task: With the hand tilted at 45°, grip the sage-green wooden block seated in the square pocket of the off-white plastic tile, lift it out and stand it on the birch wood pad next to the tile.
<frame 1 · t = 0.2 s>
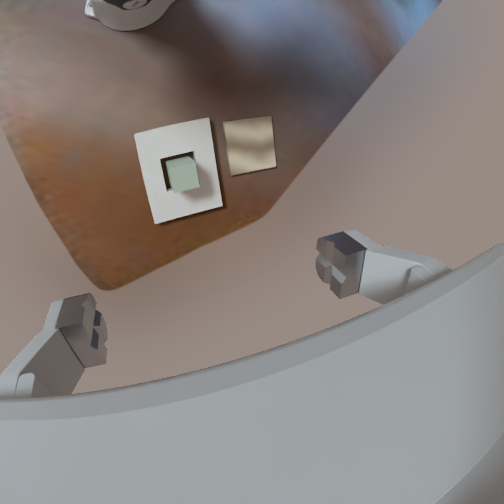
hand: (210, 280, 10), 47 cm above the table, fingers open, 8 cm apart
block: (178, 169, 53), resting in holder
pad: (249, 144, 55), on the table
holder: (178, 169, 53), on the table
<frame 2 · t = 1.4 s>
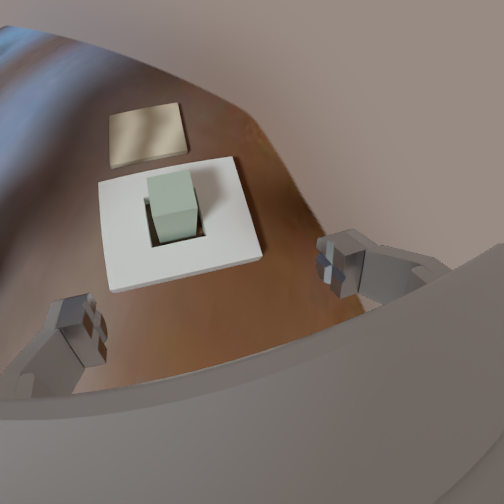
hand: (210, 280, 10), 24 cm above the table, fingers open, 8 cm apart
block: (174, 222, 35), resting in holder
pad: (145, 134, 37), on the table
holder: (174, 222, 35), on the table
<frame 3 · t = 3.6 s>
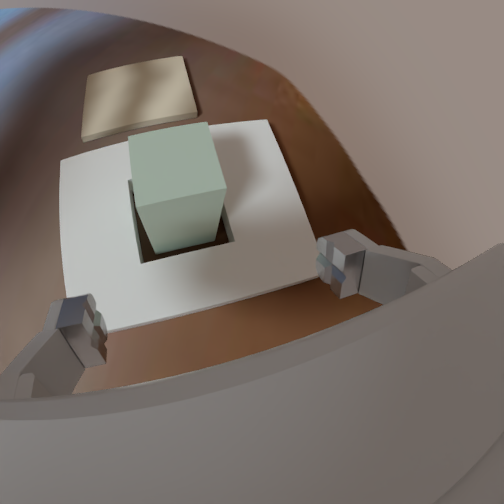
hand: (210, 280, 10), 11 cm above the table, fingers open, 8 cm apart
block: (178, 220, 21), resting in holder
pad: (136, 94, 24), on the table
holder: (178, 219, 21), on the table
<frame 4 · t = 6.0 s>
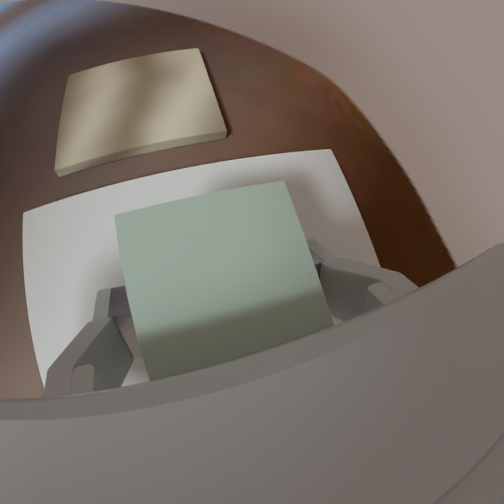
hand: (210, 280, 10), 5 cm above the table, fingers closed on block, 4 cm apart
block: (209, 311, 14), resting in holder, touching gripper
pad: (134, 102, 17), on the table
holder: (209, 311, 14), on the table
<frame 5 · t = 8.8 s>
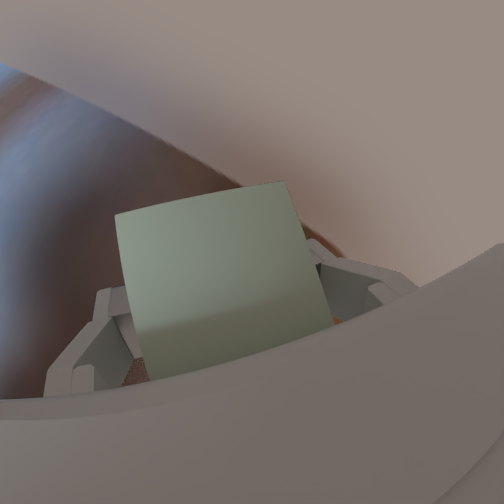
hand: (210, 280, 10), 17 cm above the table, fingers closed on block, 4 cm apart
block: (209, 311, 14), point 12 cm above the table, touching gripper
when the fingers open (7 cm above the table, at t = 11.9 s): block stays where it is, resting on pad.
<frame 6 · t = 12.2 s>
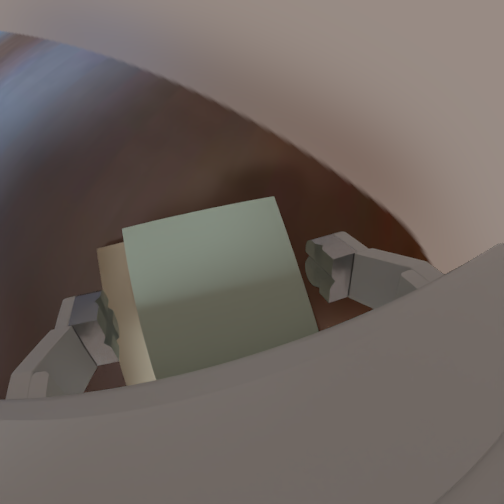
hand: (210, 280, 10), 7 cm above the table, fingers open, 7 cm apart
block: (208, 313, 15), point 1 cm above the table, touching pad
pad: (208, 314, 16), on the table
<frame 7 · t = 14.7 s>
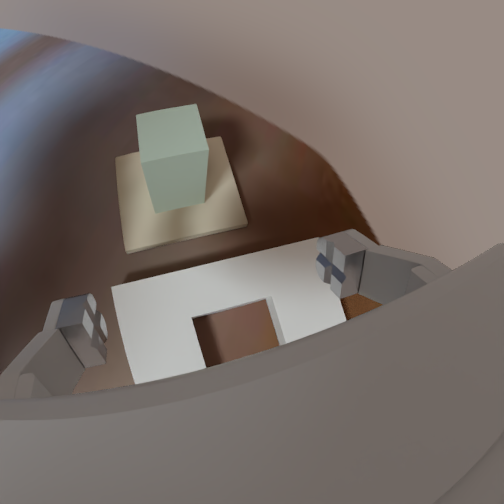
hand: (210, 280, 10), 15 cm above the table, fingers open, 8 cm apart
block: (175, 186, 25), point 1 cm above the table, touching pad
pad: (176, 190, 26), on the table
holder: (240, 345, 23), on the table
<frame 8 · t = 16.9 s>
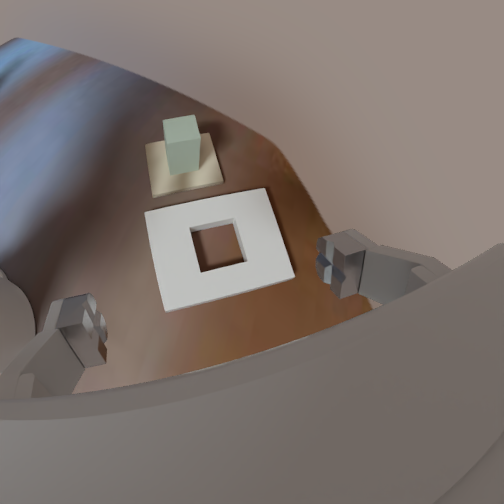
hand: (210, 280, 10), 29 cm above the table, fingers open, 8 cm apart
block: (181, 161, 43), point 1 cm above the table, touching pad
pad: (182, 164, 43), on the table
holder: (217, 248, 41), on the table
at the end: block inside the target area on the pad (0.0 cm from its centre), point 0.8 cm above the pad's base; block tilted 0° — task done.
